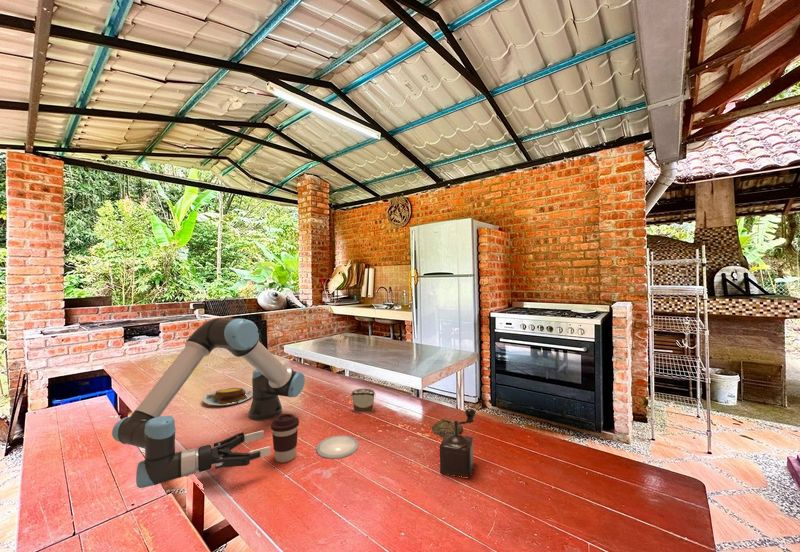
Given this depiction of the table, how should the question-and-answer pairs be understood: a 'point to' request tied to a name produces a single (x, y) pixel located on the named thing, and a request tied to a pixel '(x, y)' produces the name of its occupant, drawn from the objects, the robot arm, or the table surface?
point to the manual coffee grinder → (458, 451)
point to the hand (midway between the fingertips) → (266, 441)
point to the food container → (363, 400)
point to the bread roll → (445, 427)
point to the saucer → (337, 447)
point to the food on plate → (227, 396)
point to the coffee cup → (285, 437)
